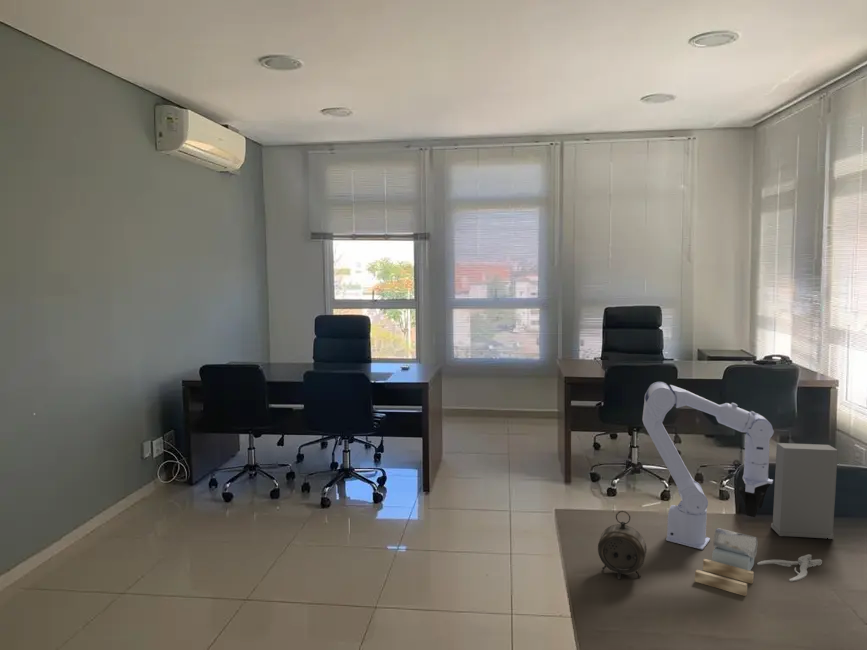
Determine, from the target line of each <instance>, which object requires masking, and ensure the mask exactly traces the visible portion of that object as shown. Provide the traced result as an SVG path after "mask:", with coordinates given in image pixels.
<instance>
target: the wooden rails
mask: <svg viewBox="0 0 867 650" xmlns="http://www.w3.org/2000/svg"><path fill="white" fill-rule="evenodd" d="M702 561H703V562H702V564H703V565H702V567H703V568H702V570H700V569H696V570H695V573H694V574H695V575H694V582H695V583H699V584H702V585H705V586H709V587H713V588H716V589H720V590H723V591H727V592H728V593H732V594H737V595H740V596H742V597H743V596H744V597H746V596H747V594H748V584H751V585H752V584H753V583H754V578H755V577H754V574H755V572H754V571H753V570H750V571H749V570H745V569H742V568H738V567H734V566H730V565H727V564H723V563H719V562H715V561H712V559H707V558H703V560H702Z"/></svg>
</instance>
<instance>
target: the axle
mask: <svg viewBox="0 0 867 650" xmlns="http://www.w3.org/2000/svg"><path fill="white" fill-rule="evenodd" d="M713 535H714V537H713V548H714V549H715V548H717V549H721V550H725V551H729V552H733V553H737V554H741V555H745V556H749V557H752V558H754V559H755V558H756V557H757V552H758V545H759V544H758V541H759V539H758V537H757V536H753V535H749V534H745V533H741V532H737V531H733V530H728V529H723V528H720V527H717V528H716V529H715V531H714V534H713Z"/></svg>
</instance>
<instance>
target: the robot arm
mask: <svg viewBox="0 0 867 650" xmlns="http://www.w3.org/2000/svg"><path fill="white" fill-rule="evenodd" d="M685 406H687V407H690V408H692V409H695V410H698V411H701V412H702V413H706V414H709V415H711V416H713V417H715V419H716V422H717V423H718V424H720V425H723V426H725V427H728V428H731V429H733V430H735V431H737V432H740V433H745V444H744V461H743V463H744V464H743V475H742V480H743V482H744V484H745V487H742V486H740V487H739V489H738V491H739V494H740V495H741V499H742V501H743V505H744V511H745V514H746V515H745V516H747V517H753V518H756V516H757V514H758V509H762V507H763V504H764V500H765V497H766V494H767V492H768V489H769V487H770V486H771V485H773V483H774V479H772V478H771V479H770V478H769V470H770V469H769V466H770V465H769V463H770V450H771V447H770V439H771V438H772V436H773V435H774V433H775V430H774V429H773V425H772V423H771V422H770V421H769V420H768V419H767V418H766V417H765V416H763V415H761V414H760V413H757V412H755V411H753V410H750V411H748V410H746V409H744V408H742V407H741V408H740V407H738V406H739V405H738V404H737V403H735V402H731V403H729V402H725V403H721V404H718V403H716V402H714V401H712V400H709V399H706V398H705V397H703V396H700V395H698V394H695V393H693V392H691V391H689V390H688V389H687V390H686V389H684V388H681V387H678V386H676V385H673V384H669V385H668V384H667V383H666V382H664V381H656V382H653V383H651V384H650V385H649V387H648V388H647V390H646V392H645V394H644V403H643V411H642V419H641V420H642V423H643V427H644V428H645V430H646V431H647V434H648V435H649V437H650V439H651V441H652V443H653V445H654V446H655V448H656V450H657V452H658V453H659V455H660V457H661V459H662V461H663V463H664V465H665V467H666V468H667V470H668V472H669V473H670V475H671V477H672V479H673V481H674V483H675V486H676V487H677V489H678V490H677V491H678V495H679V497H680V499H681V501H680V502H679V503H678V504H677V505H675V504H671V505H670V507H669V510H668V514H667V527H666V529H667V530H666V532H667V533H666V539H665V540H666V541H668V542H669V543H670V542H671V543H675V544H680V545H682V546H687V547H690V548H695V549H698V550H704V548H705V547H706V545H708V543H709V542H710V541H711V538H710V537H708V536H707V515H708V514H707V512H708V510H707V508H708V506H709V500H708V497H707V496H706V495H705V493H704V490H703V486H702V485H701V484H700V483H699V482H697V481H696V480H695V478H693V477H692V475H691V473H690V471H689V470H688V468H687V466H686V465H685V462H684V461H683V458H682V457H681V455H680V453H679V451H678V449H677V448H676V445H675V444H674V442H673V440H672V438H671V436H670V435H669V433H668V431H667V430H666V428H665V426H664V424H663V422H664V420H665V417H666V415H667V413H668V412H669V411H671V410H672V408H673V407H675V408H676V409H678V408H679V409H680V408H682V407H685Z"/></svg>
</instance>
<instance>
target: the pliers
mask: <svg viewBox="0 0 867 650" xmlns="http://www.w3.org/2000/svg"><path fill="white" fill-rule="evenodd" d="M812 556H813V555H812V554H810V553H809V554H805V555H802V556H800V557H798V558H797V560H795V561H794V560H785V559H767V560H761V561H758V562H756V565H757V566H762V565H772V564H773V565H778V566H782V567H792V566H794V565H795V566H797V565H798V564H799V572H798V571H797V567H794V572H795V574H796V576H793V577H792V578H789V579H788V581H789V582H791V583H792V582H796V581H797V582H799V581H800V580H801V581H802V580H803V579H805V578H806V577H807V575H808V570H807V569H808V568H811V567H812V566H813V567H817V566H816V565H818V566H821V564H822V563H823V560H822V559H821V558H815V559H812ZM822 565H823V564H822ZM813 567H812V568H813Z"/></svg>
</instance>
